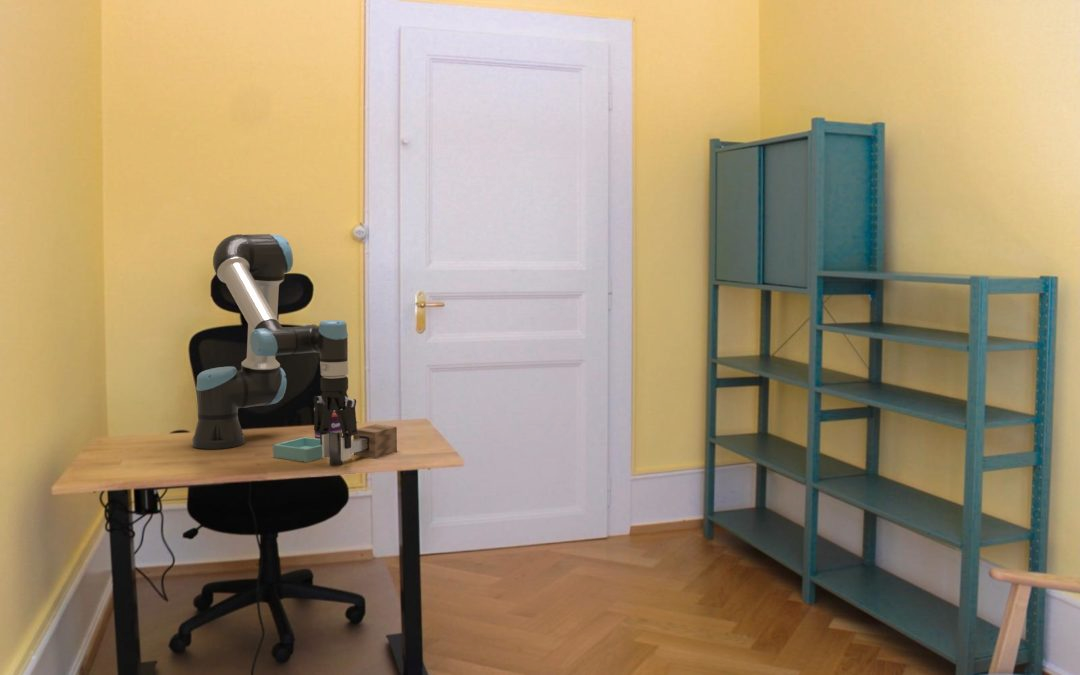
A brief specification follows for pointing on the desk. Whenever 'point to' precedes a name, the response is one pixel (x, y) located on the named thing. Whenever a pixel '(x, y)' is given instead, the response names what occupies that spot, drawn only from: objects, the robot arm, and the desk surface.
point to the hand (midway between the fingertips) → (336, 458)
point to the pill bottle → (331, 424)
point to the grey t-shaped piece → (335, 446)
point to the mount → (378, 440)
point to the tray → (299, 449)
